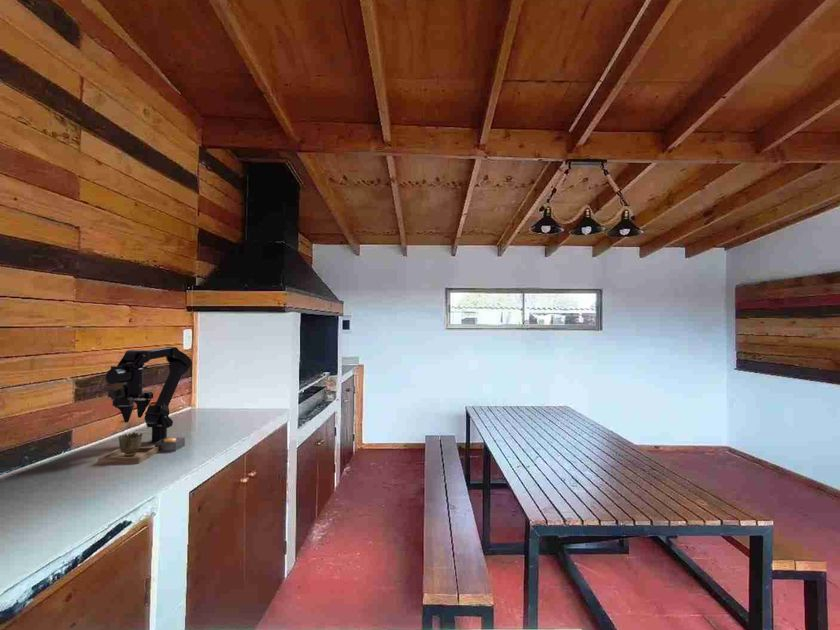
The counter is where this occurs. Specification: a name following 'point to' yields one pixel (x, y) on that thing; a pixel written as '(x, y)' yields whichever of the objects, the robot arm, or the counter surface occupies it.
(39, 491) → the counter surface
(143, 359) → the robot arm
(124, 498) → the counter surface
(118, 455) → the wooden tray
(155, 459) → the counter surface
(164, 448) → the panel
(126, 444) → the ornate lamp shade
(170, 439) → the button
